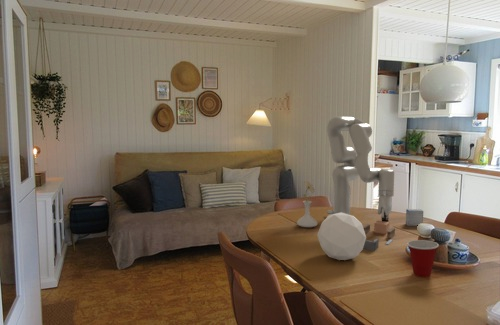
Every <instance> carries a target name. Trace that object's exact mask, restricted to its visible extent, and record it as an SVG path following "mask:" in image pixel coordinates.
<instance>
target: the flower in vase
mask: <svg viewBox="0 0 500 325" xmlns="http://www.w3.org/2000/svg"><path fill="white" fill-rule="evenodd" d="M304 185H305V187H306V190H305V193H303V197H304V198H305V200H303V201H302V203H303V205H304V210H305V211H304V215H303V216H302V217H300V218H299V219H298V220H297V221H296V224H297V226H298V227H302V228H314V227H316V226H317V225H318V221H317V220H316V219H315V218H314V217H312V216H311V214H310V208H311V204H312V203H313V201H311V200H308V199H309V198H311V195H309V196H308V197H307V191H309V192H310V193H313V194H314V192H315V188H314V185H313V184H311V182H310V181H308V180H305V181H304Z"/></svg>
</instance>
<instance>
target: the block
mask: <svg viewBox="0 0 500 325" xmlns="http://www.w3.org/2000/svg"><path fill="white" fill-rule="evenodd" d="M373 227H374V228H373V233H376V234H384V235H387V231H389V230H390V221H389V222H385V221H382V220H377V221H375V222H374V226H373Z"/></svg>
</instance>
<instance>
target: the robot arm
mask: <svg viewBox="0 0 500 325" xmlns="http://www.w3.org/2000/svg"><path fill="white" fill-rule="evenodd" d="M341 132H348V134H349V137H350V139H351V142H352V144H353V147H354V148H353V147H351V146H346V142H345V138H344V136H343V135H342V133H341ZM326 134H327V137H328V140H329V147H330V152H331V154H330V155H331V158H332V161H333V162H334V163H336V164H343V165H338V166H336V167H335V168H334V169H333V170H332V174H331V176H332V181H333V210H331V209H327V210H326V212H327V215H332V214H336V213H340V212H342V213H345V214H348V215H351V184H350V183H349V182H351V181H355V180H357V179H358V178H360V180H361V181H363V182H364V183H368V184H369V183H374V182H378V189H377V190H378V192H377V194H378V201H377V202H378V203H377V204H378V205H377V214H378V215H380V217H381V221H385V222H389V223H390V221H389V217H390V214H391V212H392V207H393V197H394V194H395V193H394V191H395V186H394V185H395V171H394V170H393V169H388V168H382V167H370V165H369V162H368V156H369V153H370V152H371V151H372V149H373V147H372V144H371V142H370V138H371V137H372V134H373V129H372V126H370V124H369V123H366V122H365V121H363V120H361V119H359V118H356V117H354V116H349V115H348V116H345V115H343V116H341V115H340V116H339V115H338V116H334V117H333V118H331V119H330V120H329V121H328V122H327V126H326Z"/></svg>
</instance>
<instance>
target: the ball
mask: <svg viewBox="0 0 500 325" xmlns="http://www.w3.org/2000/svg"><path fill="white" fill-rule="evenodd" d="M363 226H364V225H363V223H362V222H361V221H360V220H359V219H357V218H356V217H355V216H354V215H353V214H352V215H351V214H350V215H348V214H345V213H342V212H340V213H336V214H332V215H331V214H327V216H326V217H325V219H324V220H323V221H322V222H321V224H320V226H319V230H318V232H317V235H316V237H317V239H318V242H319V244H320V247H321V250H323V252H324V253H325V254H326V255H327V256H328V257H329V258H332V259H335V260H338V261H340V260H344V261H347V260H351V259H355V258H356V257H357V256H358V255H359V254H360V253H361V252H362V251H363V250H364V249H363V247H364V243H365V240H367V236H366V234H365V232H364V228H363Z"/></svg>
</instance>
